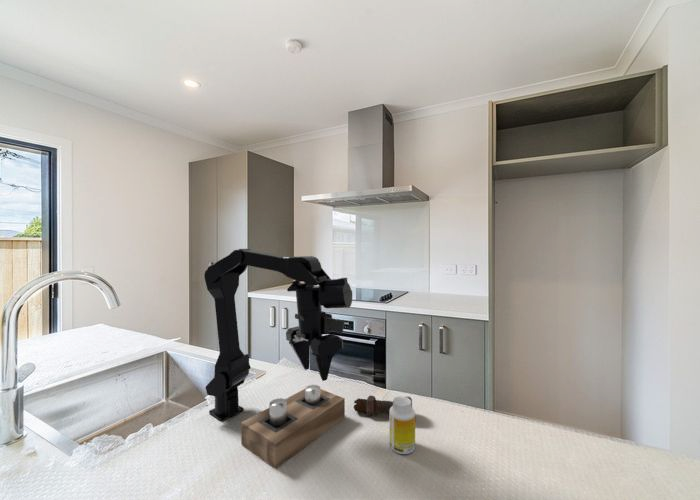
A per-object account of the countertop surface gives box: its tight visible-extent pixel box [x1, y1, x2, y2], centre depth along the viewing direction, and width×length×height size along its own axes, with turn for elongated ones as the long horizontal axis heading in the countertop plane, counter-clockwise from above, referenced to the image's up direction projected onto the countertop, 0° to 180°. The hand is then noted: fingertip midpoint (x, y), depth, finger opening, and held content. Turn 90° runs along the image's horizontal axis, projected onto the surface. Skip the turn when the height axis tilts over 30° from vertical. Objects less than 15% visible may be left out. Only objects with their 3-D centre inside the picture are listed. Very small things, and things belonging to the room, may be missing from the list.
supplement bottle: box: [388, 395, 416, 455], centre depth 64 cm, size 6×6×10 cm
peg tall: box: [268, 398, 287, 429], centre depth 66 cm, size 4×4×5 cm
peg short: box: [304, 384, 321, 406], centre depth 75 cm, size 4×4×5 cm
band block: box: [240, 388, 346, 470], centre depth 71 cm, size 12×22×5 cm, turn 142°
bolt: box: [353, 395, 413, 418], centre depth 77 cm, size 6×5×15 cm
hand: (315, 374), depth 70 cm, fingers open, 9 cm apart
